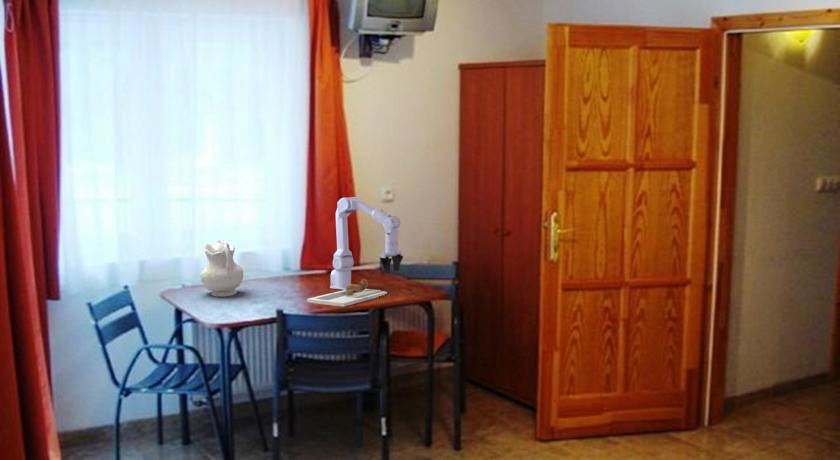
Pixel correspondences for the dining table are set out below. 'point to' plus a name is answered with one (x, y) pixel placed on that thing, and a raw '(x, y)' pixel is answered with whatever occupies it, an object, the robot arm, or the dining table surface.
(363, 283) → the lion figurine
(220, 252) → the ceramic pitcher
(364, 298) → the puzzle board
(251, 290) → the dining table surface
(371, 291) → the shutter
